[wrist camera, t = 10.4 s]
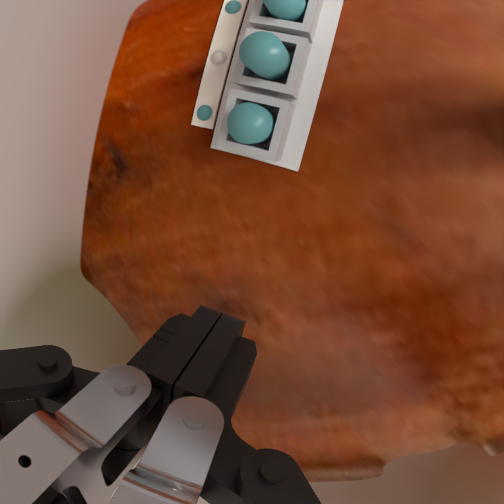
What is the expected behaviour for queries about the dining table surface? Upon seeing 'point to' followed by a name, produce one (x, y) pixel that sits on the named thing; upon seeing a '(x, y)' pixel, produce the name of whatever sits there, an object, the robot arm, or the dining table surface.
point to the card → (218, 63)
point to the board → (281, 82)
